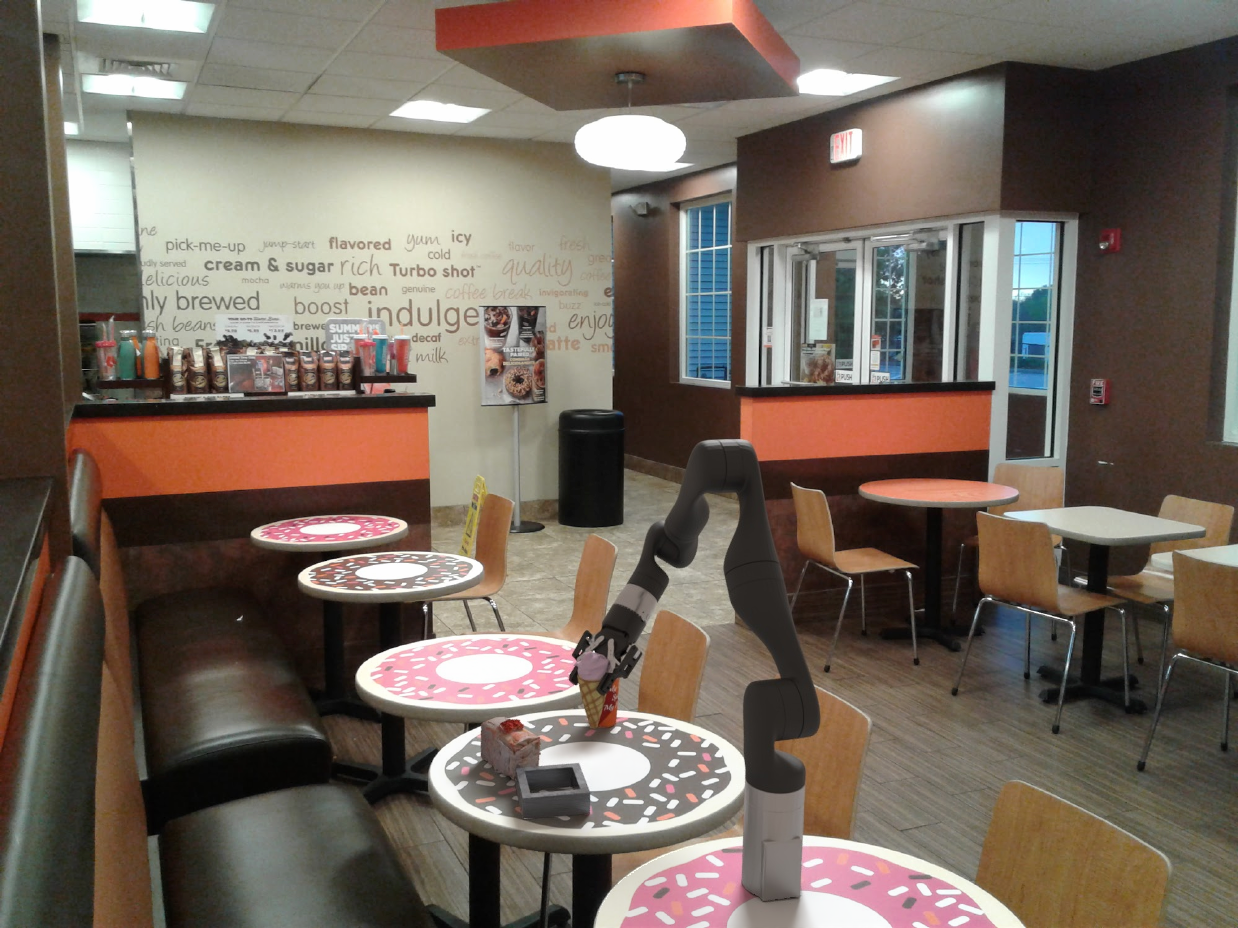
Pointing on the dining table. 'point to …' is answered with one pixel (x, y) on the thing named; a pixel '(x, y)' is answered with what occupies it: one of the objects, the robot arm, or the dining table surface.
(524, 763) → the food item
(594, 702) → the ice cream cone
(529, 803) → the hollow square frame
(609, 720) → the paper cup
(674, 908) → the dining table surface
